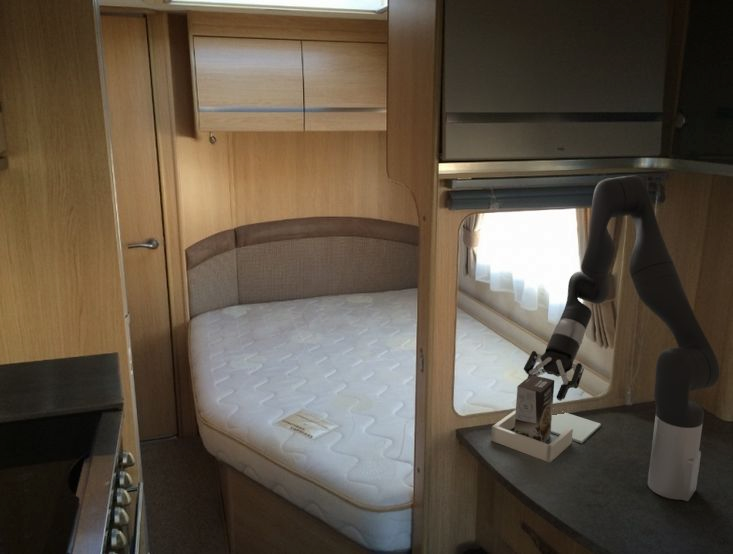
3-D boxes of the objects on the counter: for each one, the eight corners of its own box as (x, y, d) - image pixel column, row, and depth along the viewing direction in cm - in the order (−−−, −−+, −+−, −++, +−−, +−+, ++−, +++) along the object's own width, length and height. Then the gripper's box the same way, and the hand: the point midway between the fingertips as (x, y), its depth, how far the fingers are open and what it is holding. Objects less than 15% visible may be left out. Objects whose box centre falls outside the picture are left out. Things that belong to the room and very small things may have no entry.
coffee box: (537, 452, 160) (541, 392, 156) (512, 444, 164) (516, 385, 159) (551, 437, 167) (555, 379, 163) (527, 430, 171) (531, 373, 166)
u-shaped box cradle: (571, 443, 164) (572, 428, 163) (549, 462, 155) (551, 447, 154) (514, 423, 174) (515, 409, 173) (491, 440, 166) (492, 426, 165)
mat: (600, 425, 173) (601, 423, 172) (581, 443, 164) (581, 441, 164) (551, 410, 182) (551, 408, 181) (531, 425, 173) (531, 423, 173)
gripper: (537, 326, 173) (513, 380, 167) (589, 339, 163) (565, 396, 158) (545, 340, 178) (522, 392, 173) (595, 353, 169) (573, 408, 163)
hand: (542, 394), depth 165 cm, fingers open, 8 cm apart
